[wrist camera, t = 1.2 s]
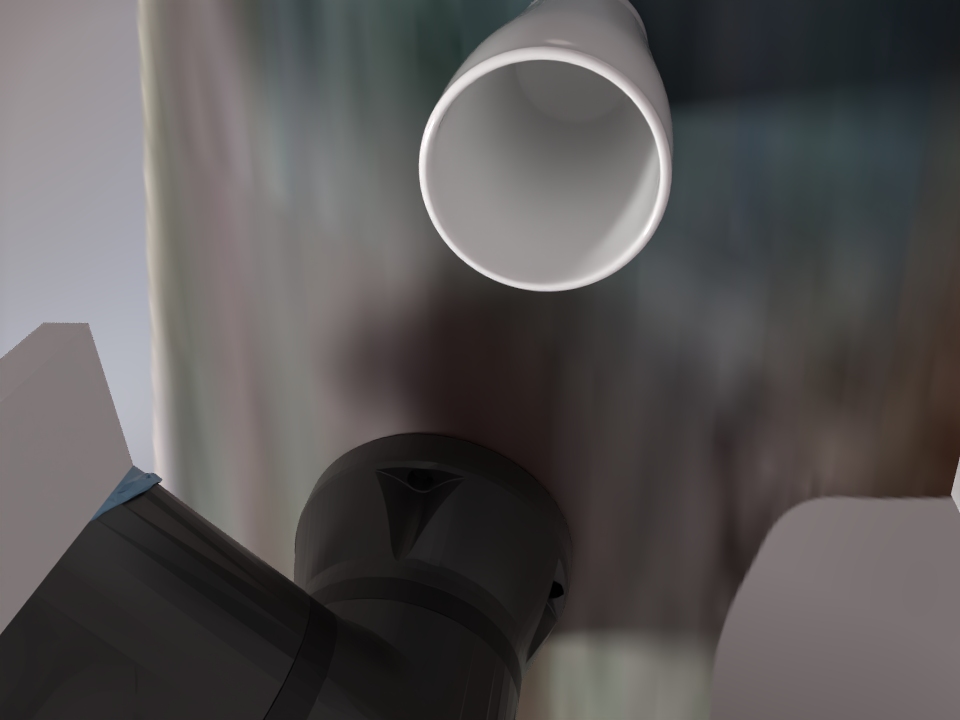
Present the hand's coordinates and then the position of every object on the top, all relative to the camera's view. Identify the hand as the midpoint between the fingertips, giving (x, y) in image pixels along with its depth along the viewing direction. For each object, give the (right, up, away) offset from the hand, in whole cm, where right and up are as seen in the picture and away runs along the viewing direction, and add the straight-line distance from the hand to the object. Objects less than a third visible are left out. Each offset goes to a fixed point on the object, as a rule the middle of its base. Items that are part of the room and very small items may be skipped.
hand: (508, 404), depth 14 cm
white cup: (+4, +13, +23) cm, 27 cm away
